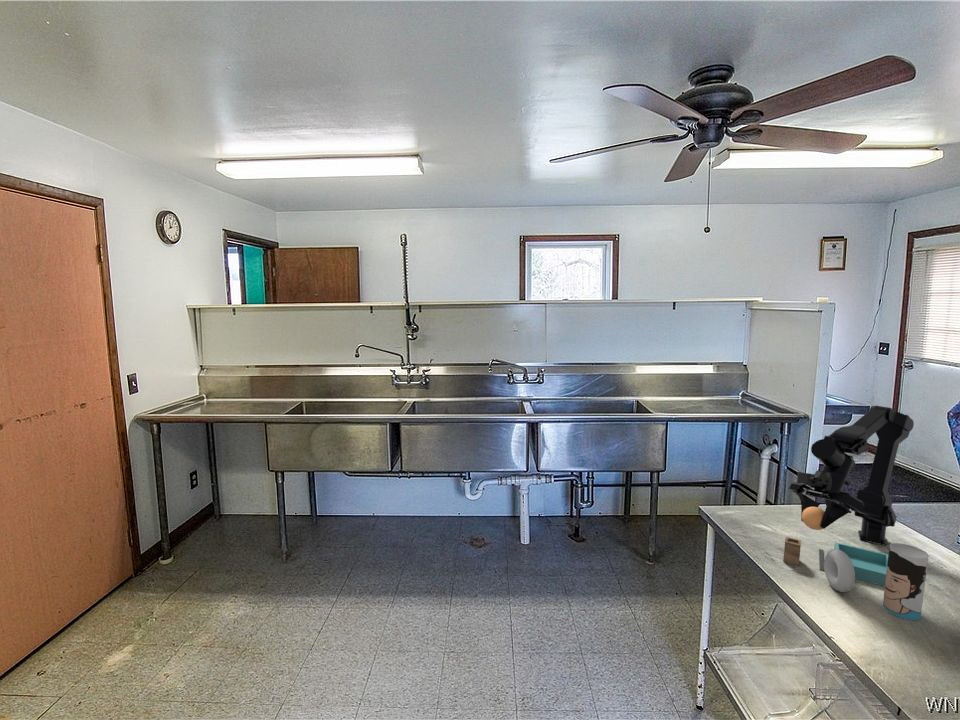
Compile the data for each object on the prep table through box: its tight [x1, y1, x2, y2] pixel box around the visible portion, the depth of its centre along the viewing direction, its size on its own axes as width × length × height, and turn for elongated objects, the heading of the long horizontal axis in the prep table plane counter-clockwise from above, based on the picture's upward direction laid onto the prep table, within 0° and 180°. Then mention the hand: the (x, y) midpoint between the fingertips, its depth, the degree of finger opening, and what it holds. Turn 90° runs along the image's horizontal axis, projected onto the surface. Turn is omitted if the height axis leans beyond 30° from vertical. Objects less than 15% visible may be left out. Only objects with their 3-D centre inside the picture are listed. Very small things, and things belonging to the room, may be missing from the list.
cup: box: [882, 542, 930, 621], centre depth 111 cm, size 7×7×15 cm
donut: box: [824, 548, 856, 593], centre depth 119 cm, size 10×4×10 cm, turn 168°
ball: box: [802, 506, 825, 531], centre depth 129 cm, size 6×6×6 cm
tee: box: [782, 536, 802, 567], centre depth 133 cm, size 4×4×6 cm
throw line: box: [818, 548, 825, 572], centre depth 134 cm, size 13×1×1 cm, turn 145°
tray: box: [833, 541, 889, 587], centre depth 129 cm, size 13×12×3 cm
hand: (812, 524), depth 129 cm, fingers closed on ball, 6 cm apart
